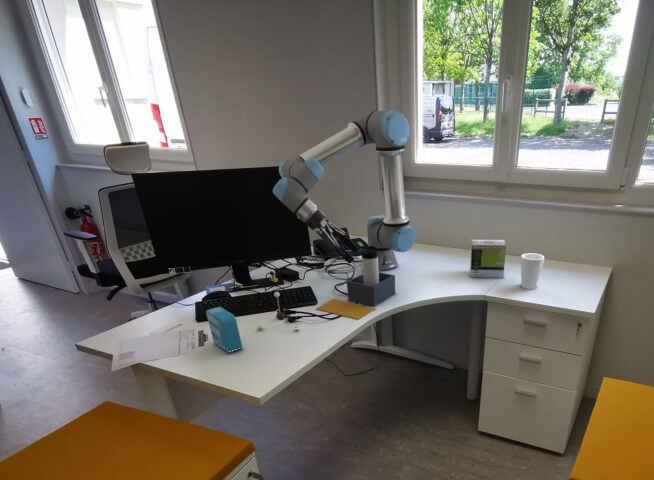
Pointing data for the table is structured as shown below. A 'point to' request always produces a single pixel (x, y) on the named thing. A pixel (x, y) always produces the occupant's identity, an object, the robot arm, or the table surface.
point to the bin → (371, 290)
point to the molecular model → (278, 315)
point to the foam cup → (530, 269)
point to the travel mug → (370, 265)
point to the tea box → (487, 258)
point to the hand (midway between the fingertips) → (354, 256)
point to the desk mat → (345, 309)
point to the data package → (224, 329)
